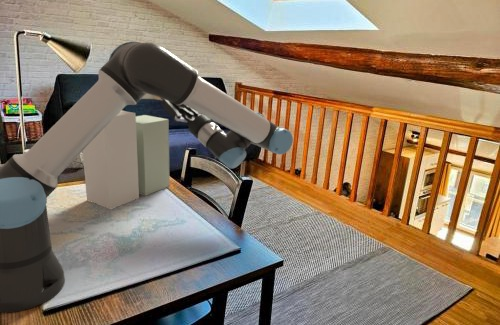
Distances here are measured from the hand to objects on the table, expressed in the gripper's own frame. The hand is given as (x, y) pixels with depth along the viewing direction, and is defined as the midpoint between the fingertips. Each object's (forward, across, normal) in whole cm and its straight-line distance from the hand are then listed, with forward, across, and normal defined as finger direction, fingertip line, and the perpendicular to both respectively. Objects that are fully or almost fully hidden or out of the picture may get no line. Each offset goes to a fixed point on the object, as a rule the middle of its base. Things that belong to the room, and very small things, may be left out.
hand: (158, 87), depth 122 cm
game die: (+21, +4, +56) cm, 60 cm away
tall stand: (-12, +15, +37) cm, 42 cm away
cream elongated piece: (-3, 0, +3) cm, 4 cm away
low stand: (-12, 0, +37) cm, 39 cm away
